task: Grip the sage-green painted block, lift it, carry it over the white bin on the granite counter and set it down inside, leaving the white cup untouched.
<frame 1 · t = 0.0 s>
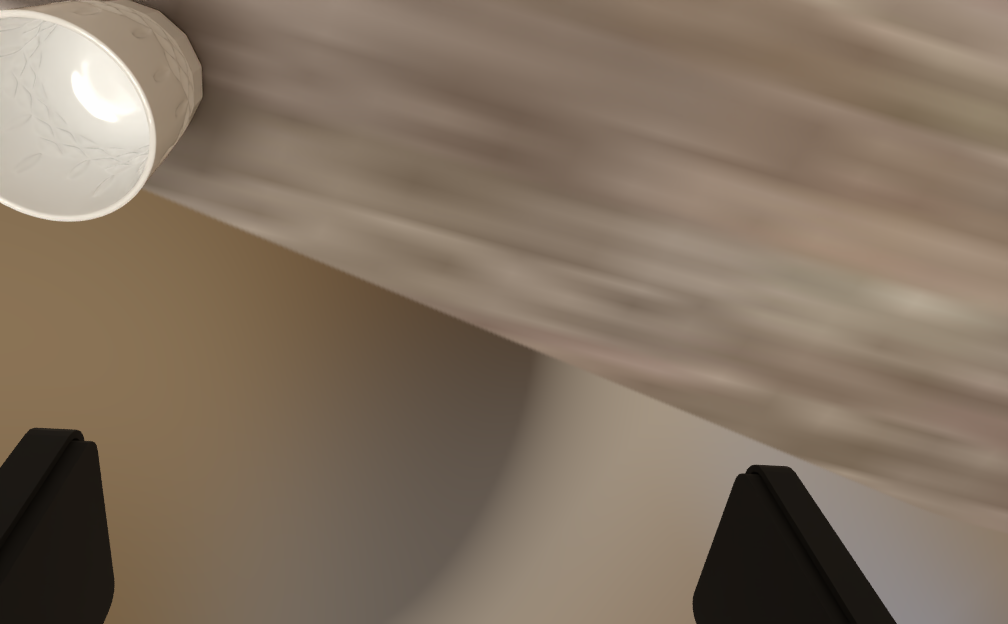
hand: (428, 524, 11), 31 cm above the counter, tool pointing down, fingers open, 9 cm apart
white cup: (134, 71, 37), on the counter
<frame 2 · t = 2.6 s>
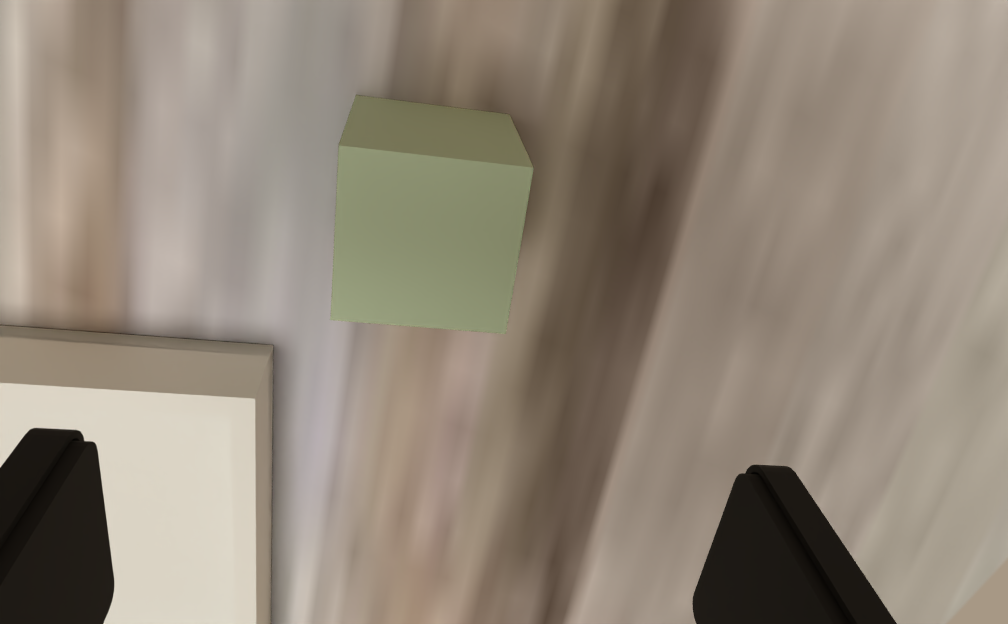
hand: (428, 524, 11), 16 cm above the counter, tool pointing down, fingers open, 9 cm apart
white bin: (66, 501, 30), on the counter
green block: (426, 178, 26), on the counter
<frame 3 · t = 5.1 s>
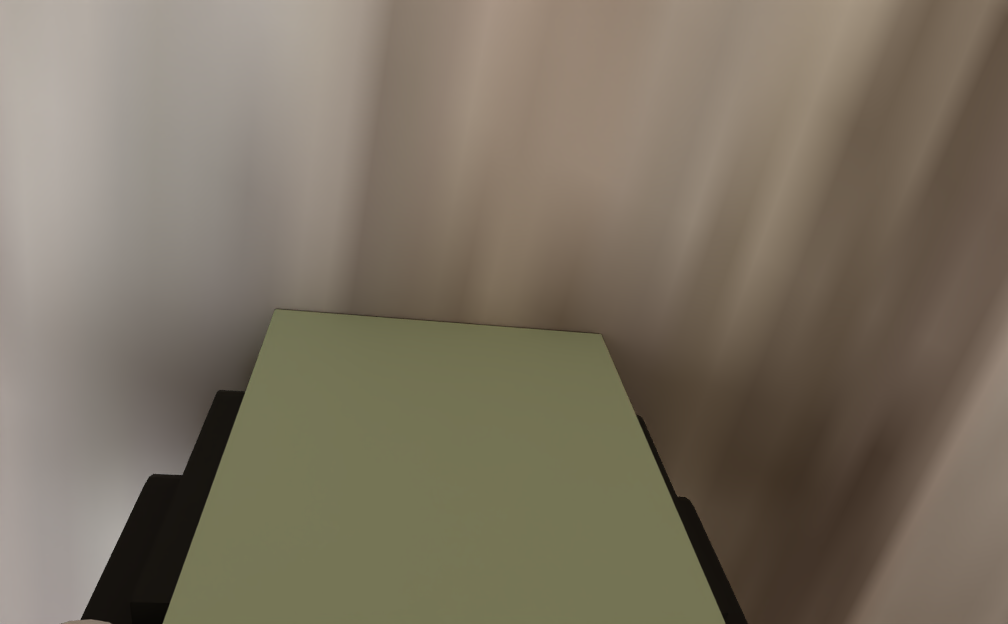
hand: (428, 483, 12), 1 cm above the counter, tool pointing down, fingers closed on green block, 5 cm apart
green block: (427, 451, 13), on the counter, touching gripper
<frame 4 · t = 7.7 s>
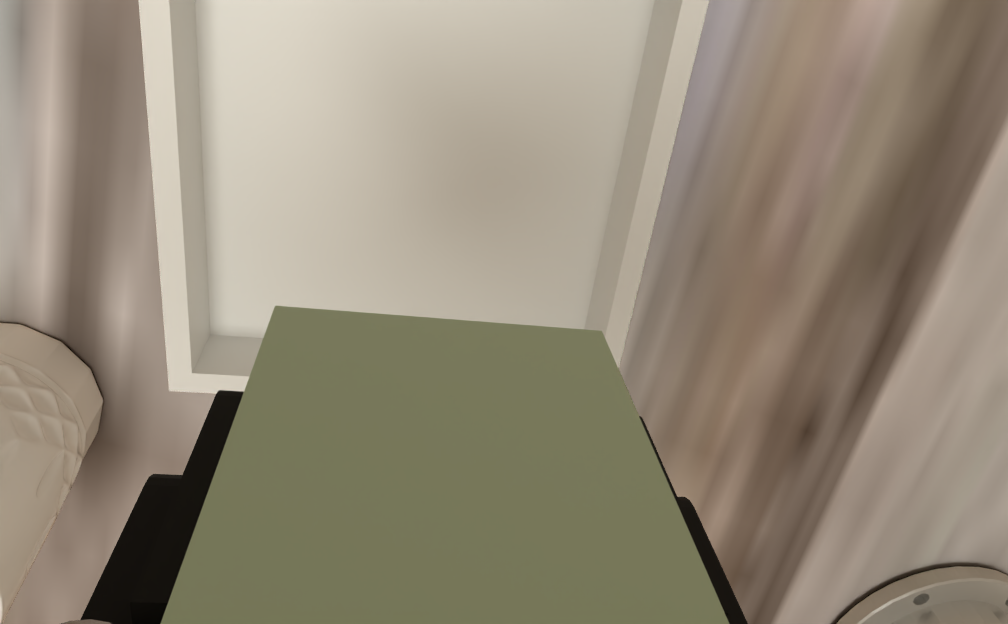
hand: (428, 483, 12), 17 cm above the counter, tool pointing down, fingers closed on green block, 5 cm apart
white bin: (416, 164, 27), on the counter
green block: (428, 448, 13), point 16 cm above the counter, touching gripper
white cup: (16, 390, 30), on the counter
when the fingers open (4 cm above the counter, at t = 10.6 s): green block drops 2 cm, resting on white bin.
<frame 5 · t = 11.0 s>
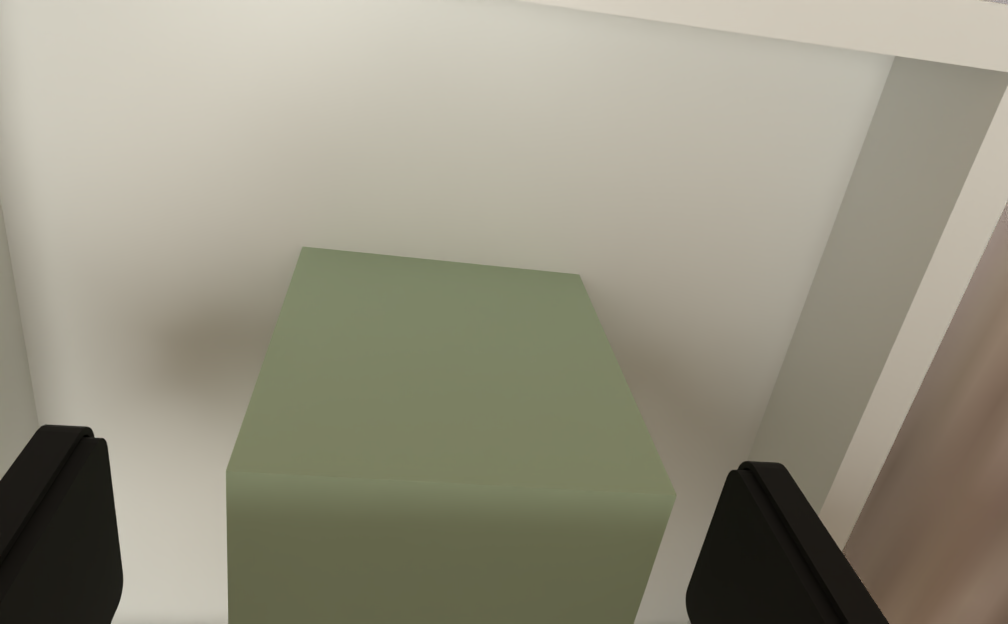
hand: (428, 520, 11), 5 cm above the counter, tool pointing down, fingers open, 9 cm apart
white bin: (425, 355, 15), on the counter
green block: (429, 377, 15), point 1 cm above the counter, touching white bin
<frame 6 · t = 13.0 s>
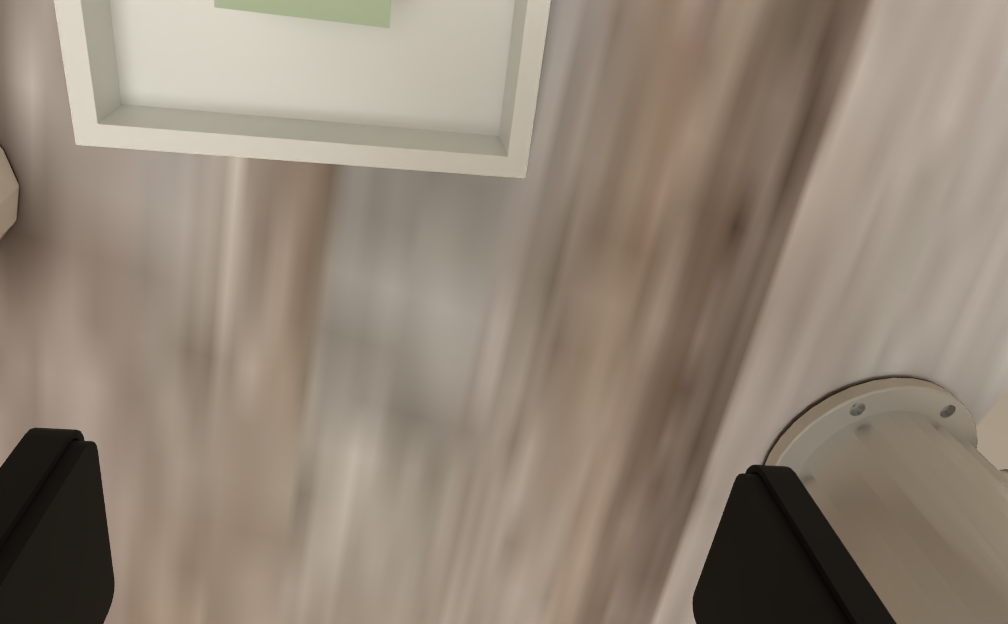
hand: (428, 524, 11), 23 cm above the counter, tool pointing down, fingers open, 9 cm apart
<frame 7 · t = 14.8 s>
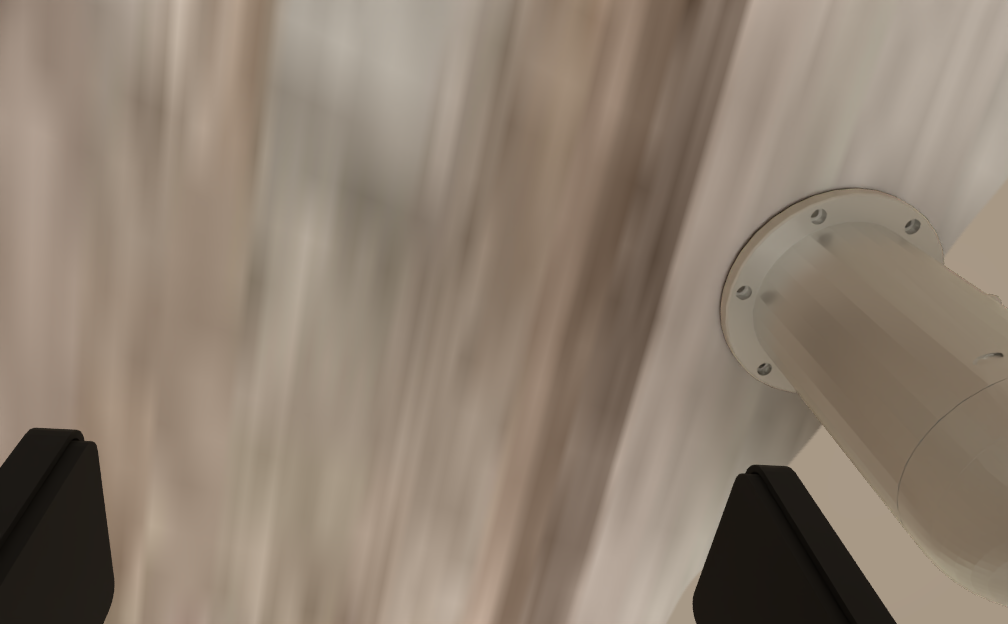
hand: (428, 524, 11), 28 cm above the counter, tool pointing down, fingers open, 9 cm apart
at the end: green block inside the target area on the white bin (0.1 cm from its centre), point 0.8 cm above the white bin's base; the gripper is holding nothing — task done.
